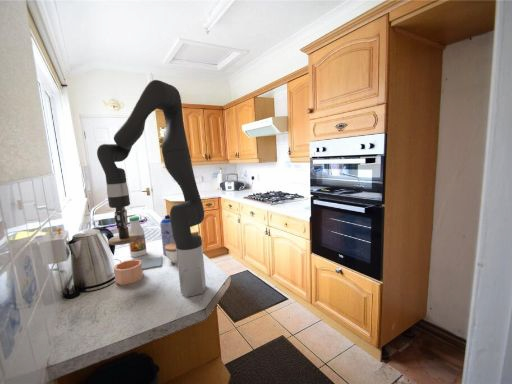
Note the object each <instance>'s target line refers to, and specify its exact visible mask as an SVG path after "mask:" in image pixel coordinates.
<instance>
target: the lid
mask: <svg viewBox="0 0 512 384" xmlns="http://www.w3.org/2000/svg"><path fill="white" fill-rule="evenodd" d="M125 229H126V238H120V233H119V229H117V232H118V235H116V236H113V237H110V238H109V239H108V240H107V241H108V244H109V245H110V246H121V245H127V244H128V245H129V243H131V242H134V241H137V240H139V239H140V234H136V233H130V234H129V227H128V226H127V227H125Z"/></svg>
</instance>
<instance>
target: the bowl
mask: <svg viewBox="0 0 512 384" xmlns="http://www.w3.org/2000/svg"><path fill="white" fill-rule="evenodd" d="M141 260H142V259H136V258H135V259H129V260H128V259H127V260H124V261H121V262H119V263H117V264H116V265H114V268H113V273H114V281H115V284H118V285H121V286H123V285H128V284H134V283H136V282H138V281H140V280H141V279H143V277H144V270H143V268H142V261H141Z"/></svg>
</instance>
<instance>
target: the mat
mask: <svg viewBox="0 0 512 384" xmlns="http://www.w3.org/2000/svg"><path fill="white" fill-rule="evenodd" d="M140 260H141V261H142V268H143V271H144V270H149V269H154V268H160V267H162V265H163V263H162V262H163V257H162V256H161V255H160V256H157V257H150V258H145V259H144V258H143V259H140Z"/></svg>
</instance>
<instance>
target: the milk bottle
mask: <svg viewBox="0 0 512 384" xmlns="http://www.w3.org/2000/svg"><path fill="white" fill-rule="evenodd" d="M128 220H129V227H128V231H129V234H130V233H136V234H140V239H139V240H137V241H134V242H131V243H128V246H129V254H130V256H131V257H134V258H136V257H141V256H144V255H146V254H147V244H146V243H147V242H146V236H145V230H144V228H143V226H142V225H141V223H140V216H137V215H136V216H131V217H129V219H128Z"/></svg>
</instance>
